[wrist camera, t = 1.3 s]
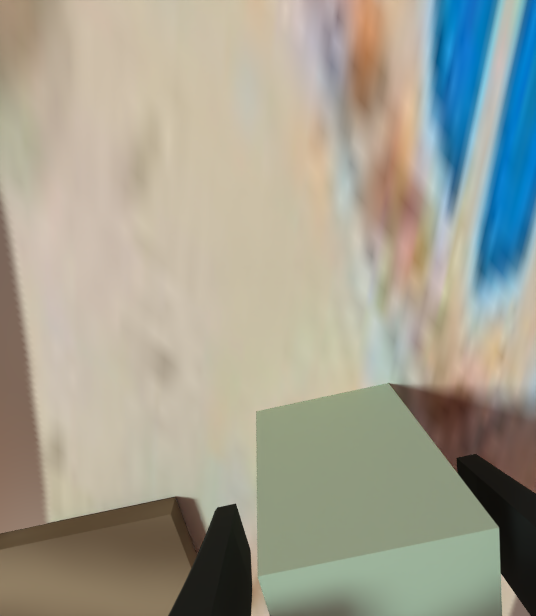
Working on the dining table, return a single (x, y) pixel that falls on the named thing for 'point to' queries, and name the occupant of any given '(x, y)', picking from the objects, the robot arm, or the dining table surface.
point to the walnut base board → (98, 564)
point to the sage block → (367, 515)
